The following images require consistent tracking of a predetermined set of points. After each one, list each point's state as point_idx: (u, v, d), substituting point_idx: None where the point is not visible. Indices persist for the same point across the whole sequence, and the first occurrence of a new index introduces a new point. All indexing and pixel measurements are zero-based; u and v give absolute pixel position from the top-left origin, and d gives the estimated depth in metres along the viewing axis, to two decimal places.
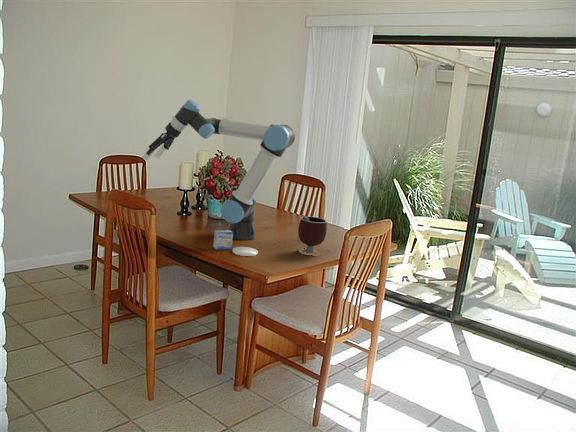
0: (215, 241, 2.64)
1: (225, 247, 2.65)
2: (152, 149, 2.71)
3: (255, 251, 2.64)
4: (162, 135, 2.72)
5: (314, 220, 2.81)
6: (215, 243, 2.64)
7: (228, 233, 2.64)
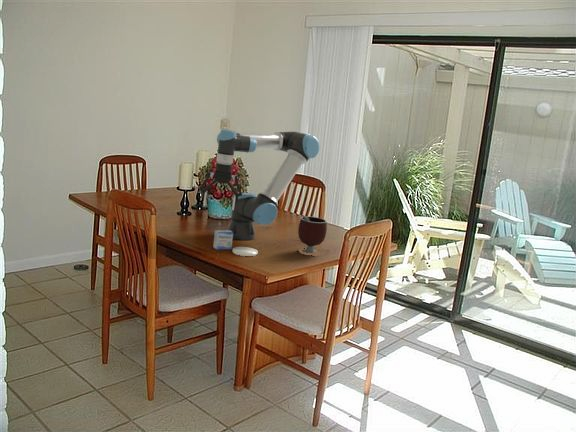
0: (215, 241, 2.64)
1: (225, 247, 2.65)
2: None
3: (255, 251, 2.64)
4: None
5: (314, 220, 2.81)
6: (215, 243, 2.64)
7: (228, 233, 2.65)
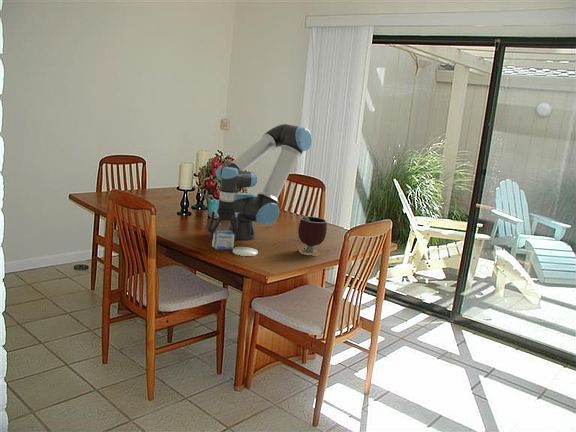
0: (215, 241, 2.64)
1: (225, 247, 2.65)
2: None
3: (255, 251, 2.64)
4: None
5: (314, 220, 2.81)
6: (215, 243, 2.64)
7: (228, 233, 2.64)
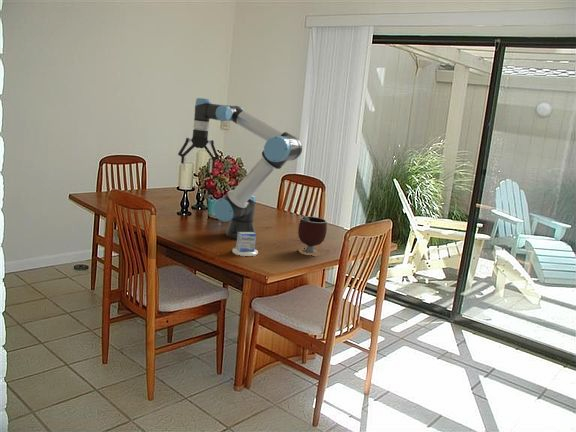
0: (238, 243, 2.61)
1: (248, 249, 2.62)
2: None
3: (255, 251, 2.64)
4: None
5: (314, 220, 2.81)
6: (238, 245, 2.61)
7: (251, 235, 2.61)
